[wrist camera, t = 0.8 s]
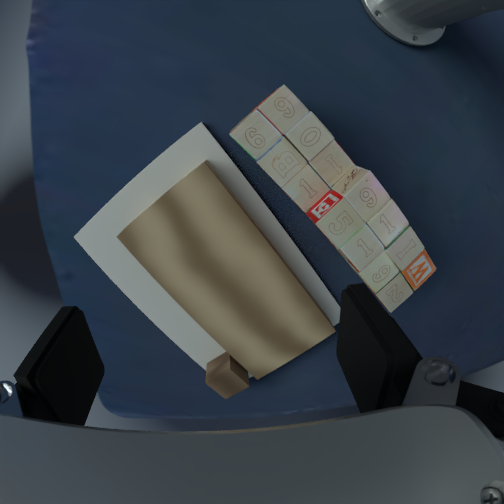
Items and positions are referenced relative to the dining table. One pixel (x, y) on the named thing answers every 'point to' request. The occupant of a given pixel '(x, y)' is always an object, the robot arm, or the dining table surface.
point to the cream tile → (136, 276)
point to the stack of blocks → (336, 195)
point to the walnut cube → (226, 375)
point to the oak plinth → (226, 273)
